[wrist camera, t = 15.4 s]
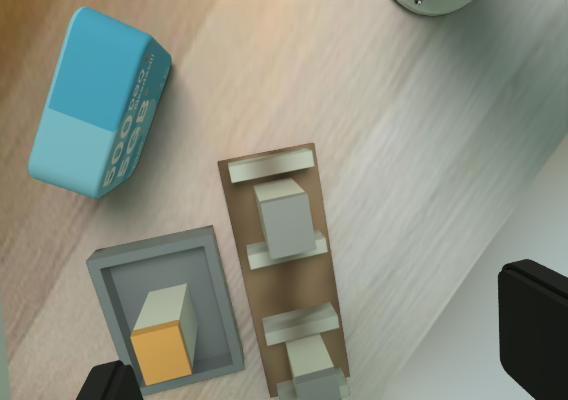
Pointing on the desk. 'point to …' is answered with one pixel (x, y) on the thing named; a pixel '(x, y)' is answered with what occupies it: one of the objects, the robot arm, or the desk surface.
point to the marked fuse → (166, 335)
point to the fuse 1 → (285, 217)
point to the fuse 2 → (312, 369)
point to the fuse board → (285, 266)
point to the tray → (164, 274)
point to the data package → (98, 105)
